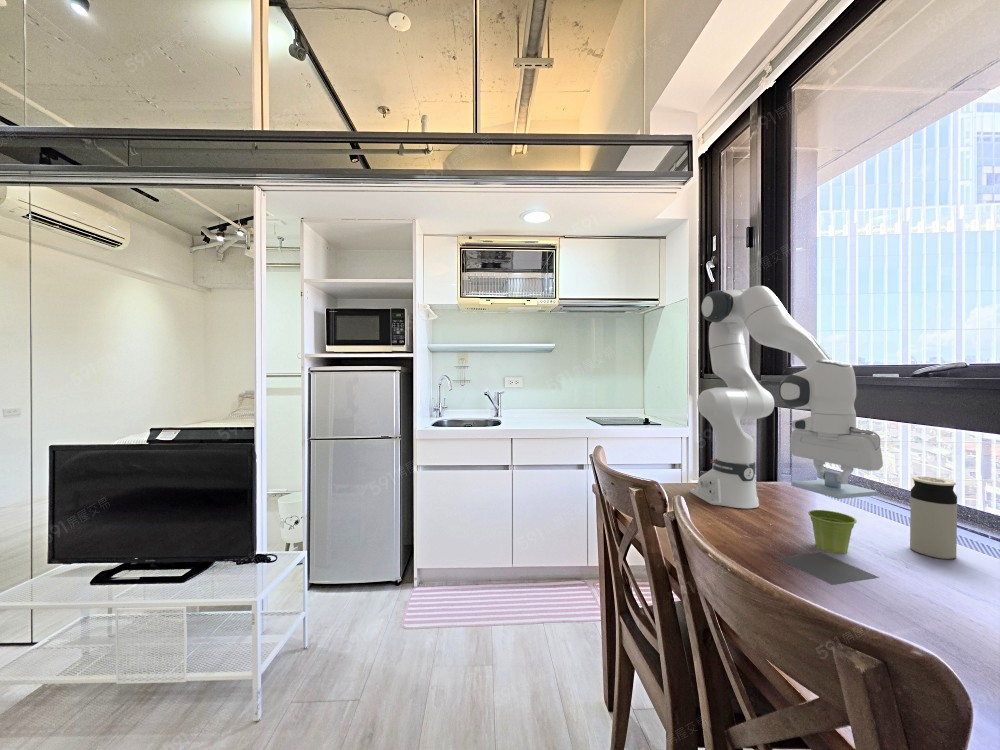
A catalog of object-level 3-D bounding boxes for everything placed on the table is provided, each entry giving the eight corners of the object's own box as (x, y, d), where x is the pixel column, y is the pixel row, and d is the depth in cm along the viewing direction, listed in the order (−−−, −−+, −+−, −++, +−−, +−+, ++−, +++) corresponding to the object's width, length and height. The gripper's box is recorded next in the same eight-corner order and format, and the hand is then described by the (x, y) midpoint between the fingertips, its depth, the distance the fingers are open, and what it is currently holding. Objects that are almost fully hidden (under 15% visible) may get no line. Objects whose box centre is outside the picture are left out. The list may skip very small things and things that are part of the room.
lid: (791, 485, 109) (791, 468, 109) (827, 482, 112) (827, 465, 112) (838, 499, 98) (838, 479, 98) (877, 495, 101) (877, 476, 101)
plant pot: (865, 560, 100) (865, 524, 100) (820, 557, 102) (820, 521, 101) (842, 544, 109) (842, 511, 109) (800, 541, 111) (801, 508, 111)
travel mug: (920, 556, 102) (921, 482, 102) (903, 544, 109) (904, 474, 109) (964, 562, 99) (965, 485, 99) (943, 549, 106) (944, 477, 106)
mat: (776, 560, 100) (776, 557, 100) (819, 554, 103) (819, 551, 103) (832, 587, 87) (832, 584, 87) (879, 580, 90) (879, 577, 90)
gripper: (890, 430, 96) (890, 491, 96) (804, 420, 115) (804, 471, 115) (869, 431, 94) (869, 493, 94) (785, 421, 114) (785, 472, 114)
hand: (832, 481), depth 105 cm, fingers closed on lid, 3 cm apart
